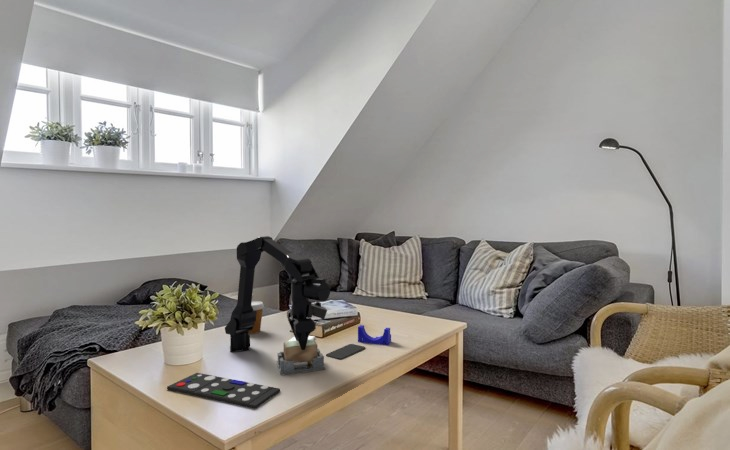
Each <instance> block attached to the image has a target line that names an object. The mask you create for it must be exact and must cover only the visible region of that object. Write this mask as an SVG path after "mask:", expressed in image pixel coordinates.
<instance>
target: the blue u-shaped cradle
mask: <svg viewBox="0 0 730 450" xmlns="http://www.w3.org/2000/svg"><path fill="white" fill-rule="evenodd" d="M357 342H358V343H363V344H370V345H371V344H372V345H380V346H382V345H383V346H389V345H390V344H391V342H392V334H391V327H385V328H384V329H383V334H382V335H380V336H375V337H373V336H370V335H369V334H368V333H367V331H366V329H365V325H361V324H360V325H358V326H357Z"/></svg>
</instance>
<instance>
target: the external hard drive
mask: <svg viewBox="0 0 730 450" xmlns="http://www.w3.org/2000/svg"><path fill="white" fill-rule="evenodd" d="M310 339H313V340H314V341H315V339H316V336H315V335H309V337H308V340H310ZM289 341H296V338H295V336H294V335H293V336H292V338H290V339H289V340H288V341H287V342H289ZM283 348H284V344H283Z"/></svg>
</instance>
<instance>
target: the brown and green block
mask: <svg viewBox="0 0 730 450" xmlns="http://www.w3.org/2000/svg"><path fill="white" fill-rule="evenodd" d="M288 341H289V340H288ZM288 341H284V342H283V345H284V347H283V351H284V360H293V361H294V363H300V362H309V361H312V357H318V352H317V349H318V343H317V342H316V340H315V339H314V340H313V339H310V340H307V344H306V348H305V350H301V347H300V344H299V342H298V341H289V342H288Z"/></svg>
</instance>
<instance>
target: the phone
mask: <svg viewBox="0 0 730 450" xmlns="http://www.w3.org/2000/svg"><path fill="white" fill-rule="evenodd" d="M364 350H366V347H365V346H362V345H360V344H354V343H350V344H346V345H344V346H342V347H339V348H337V349H334V350H333V351H330V352H328V353H326V354H325V356H326V357H327V358H332V359H335V360H344V359H347V358H348V357H351V356H353V355H355V354H357V353H359V352H363V351H364Z"/></svg>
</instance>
